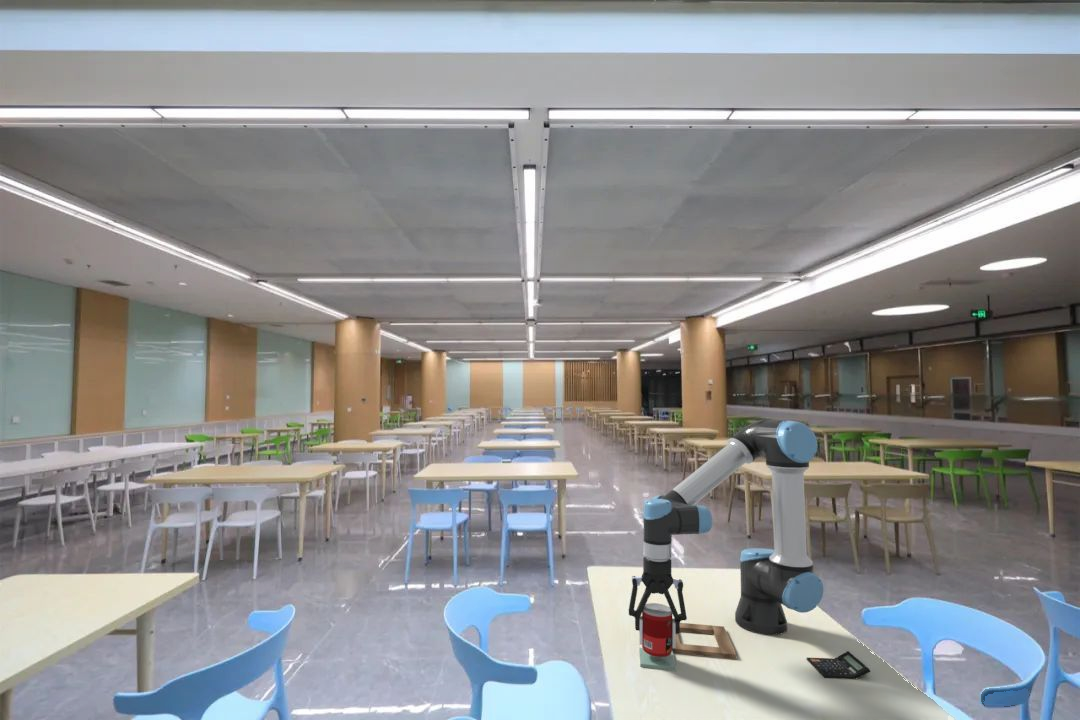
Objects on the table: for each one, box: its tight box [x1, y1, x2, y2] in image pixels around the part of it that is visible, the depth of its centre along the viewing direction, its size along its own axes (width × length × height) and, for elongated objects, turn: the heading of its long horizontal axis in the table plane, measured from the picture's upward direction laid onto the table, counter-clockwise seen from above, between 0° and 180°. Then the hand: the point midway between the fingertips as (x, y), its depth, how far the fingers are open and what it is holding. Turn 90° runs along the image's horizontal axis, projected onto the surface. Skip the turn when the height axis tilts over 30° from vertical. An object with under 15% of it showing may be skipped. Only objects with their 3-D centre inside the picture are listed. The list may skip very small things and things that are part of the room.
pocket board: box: [672, 622, 737, 660], centre depth 151 cm, size 18×18×1 cm
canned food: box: [641, 602, 673, 657], centre depth 139 cm, size 8×8×11 cm
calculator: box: [806, 650, 871, 680], centre depth 136 cm, size 9×12×3 cm
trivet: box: [638, 647, 677, 671], centre depth 139 cm, size 9×9×1 cm
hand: (657, 643), depth 139 cm, fingers closed on canned food, 8 cm apart
